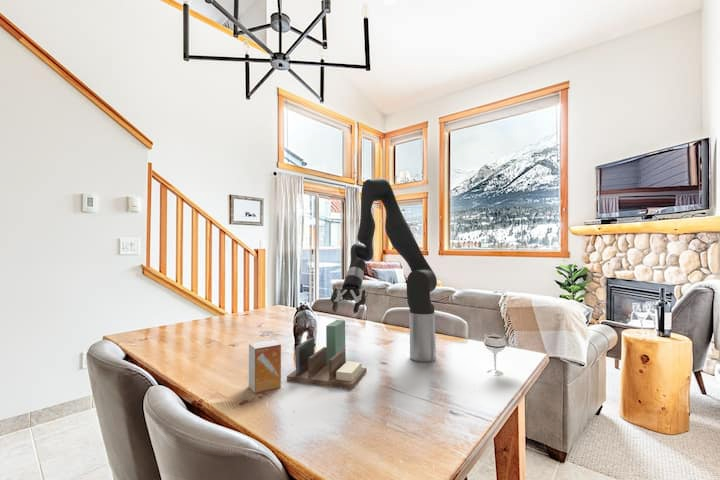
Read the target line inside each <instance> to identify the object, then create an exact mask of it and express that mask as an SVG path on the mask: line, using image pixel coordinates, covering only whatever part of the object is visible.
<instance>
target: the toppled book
mask: <svg viewBox="0 0 720 480" xmlns="http://www.w3.org/2000/svg"><path fill="white" fill-rule="evenodd" d="M362 365H363V363H362V362H361V361H351V360H347V361H346V363H345V364H344V365H343V366H342V367H341V368H339V369H338V370H337V371H336V379H337V380H346V381H352V380H353V379H354V378H355V377H356V376H357V375H358V373H359V372H360V371H361V370H362V368H363V367H362Z"/></svg>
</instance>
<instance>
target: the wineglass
mask: <svg viewBox="0 0 720 480" xmlns="http://www.w3.org/2000/svg"><path fill="white" fill-rule="evenodd" d="M483 336H484V340H483V344H484V346H485V347H486V349H487V350H488V351H490V352H492V353H493V361H494V366H493V367H494V369H489V370H487V372H486V373H488V374H489V375H493V376H503V375H504V372H502V371H500V370H497V354H498V353H500V352H502V351H503V350H504V349H505V348H506V347H507V346H506V345H507V341H506V340H505V339H506V336H505V335H504V334H499V333H485V334H484V335H483Z"/></svg>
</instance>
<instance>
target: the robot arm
mask: <svg viewBox="0 0 720 480" xmlns="http://www.w3.org/2000/svg"><path fill="white" fill-rule="evenodd" d="M361 186H362V187H361V196H360V219H359V227H358V231H357V232H358V233H357V236H356V237H357V238H356V239H357V241H358V242H359V243H353V245H351V247H350V264H349V267H348V270H347V272H346V274H345V278H344V281H343V284H342V288H341V289H340V290H339V289H337V288H334V289H333V290H332V291H333V292H332V294H331V297H330V298H329V299H330V301H331V304H333V305H332V307H331V308H332V311H333V313H337V310H338V307H339V304H341V303H343V302H344V301H345V302H347V301H350V302H352V301H354V306H353V314H357V313H359V309H360V307H361V306H365V304H366V299H367V295H368V294H367V291H366V289H362V290H361V288H362V285H363V281H364V275H365V271H366V267H367V263H366V262H370V261H371V260H372V259H373V258H374V245H373V240H374V236H375V231H376V222H375V219H374V216H373V213H372V210H373V209H372V208H373V203H374V202H378V201H381V203H382V205H383V207H384V210H385V215H386V216H385V223H384V225H385V229H384V230H385V233H386V236H387V237H388V239H389V242H390V243H391V245H392V247H393V248H394V250H396V253H398V254H399V255H400V256H401V258H403V260H405V262H406V263H407V265H408V266H409V269H410V271H411V272H410V273H408V276H407V278H406V299H407V305H408V309H409V358H410V359H411V360H413V361H416V362H421V363H422V362H423V363H426V362H435V360H436V354H437V353H436V352H437V349H436V330H435V329H436V328H435V305H434V304H433V303H432V301H431V293H432V292H433V291H435V289H436V288H437V285H438V284H437V283H438V281H437V280H438V279H437V275H436V274H435V272H434V271H433V269H432V268H431V266H430V265H429V263H428V262H427V260H426V258H425V256H424V255H423V252H422V251H421V249H420V247H419V244H418V242H417V240H416V238H415V237H414V236H415V235H414V234H413V232H412V229H411V228H410V225H409V224H408V222H407V220H406V218H405V216H404V215H403V212H402V210H401V208H400V206H399V204H398V201H397V199H396V196H395V193H394V190H393V188H392V186H391V183H390V182H389V181H388V179H386V178H384V177H379V178H368V179H366V180H364V182H363V183H362V185H361ZM359 296H360V297H361V298H360V300H359V299H358V297H359Z"/></svg>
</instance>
